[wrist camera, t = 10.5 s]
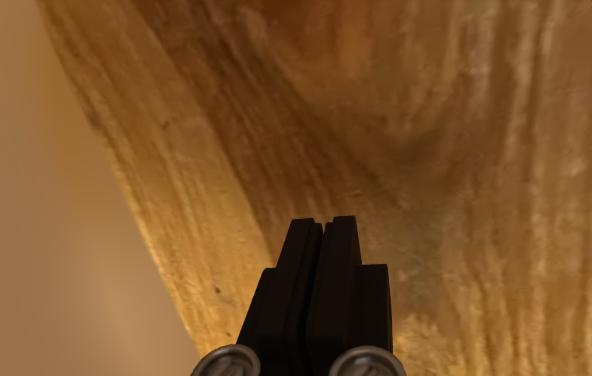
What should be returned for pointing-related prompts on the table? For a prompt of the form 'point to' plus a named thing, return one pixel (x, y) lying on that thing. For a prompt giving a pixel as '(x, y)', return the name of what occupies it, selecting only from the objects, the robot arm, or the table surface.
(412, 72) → the table surface
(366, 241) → the table surface
